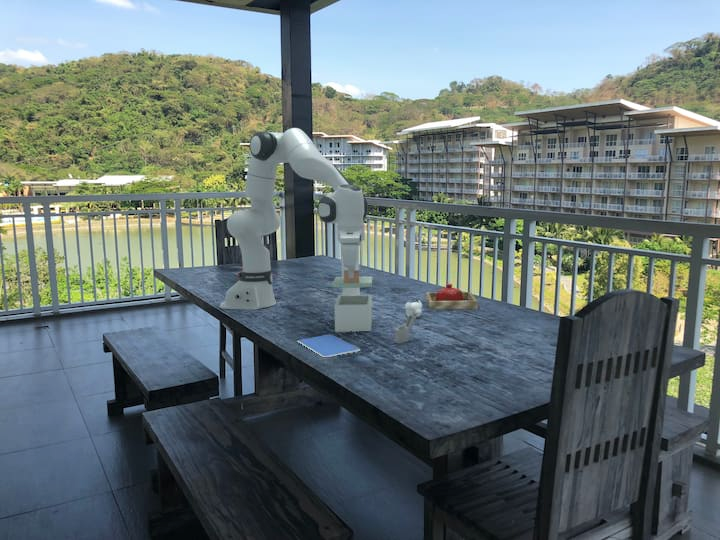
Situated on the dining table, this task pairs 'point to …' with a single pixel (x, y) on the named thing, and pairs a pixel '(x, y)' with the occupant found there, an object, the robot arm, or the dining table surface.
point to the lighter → (404, 330)
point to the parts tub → (353, 313)
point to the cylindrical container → (344, 290)
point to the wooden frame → (452, 302)
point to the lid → (352, 281)
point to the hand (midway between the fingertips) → (351, 276)
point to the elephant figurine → (413, 308)
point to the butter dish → (449, 294)
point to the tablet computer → (328, 345)
